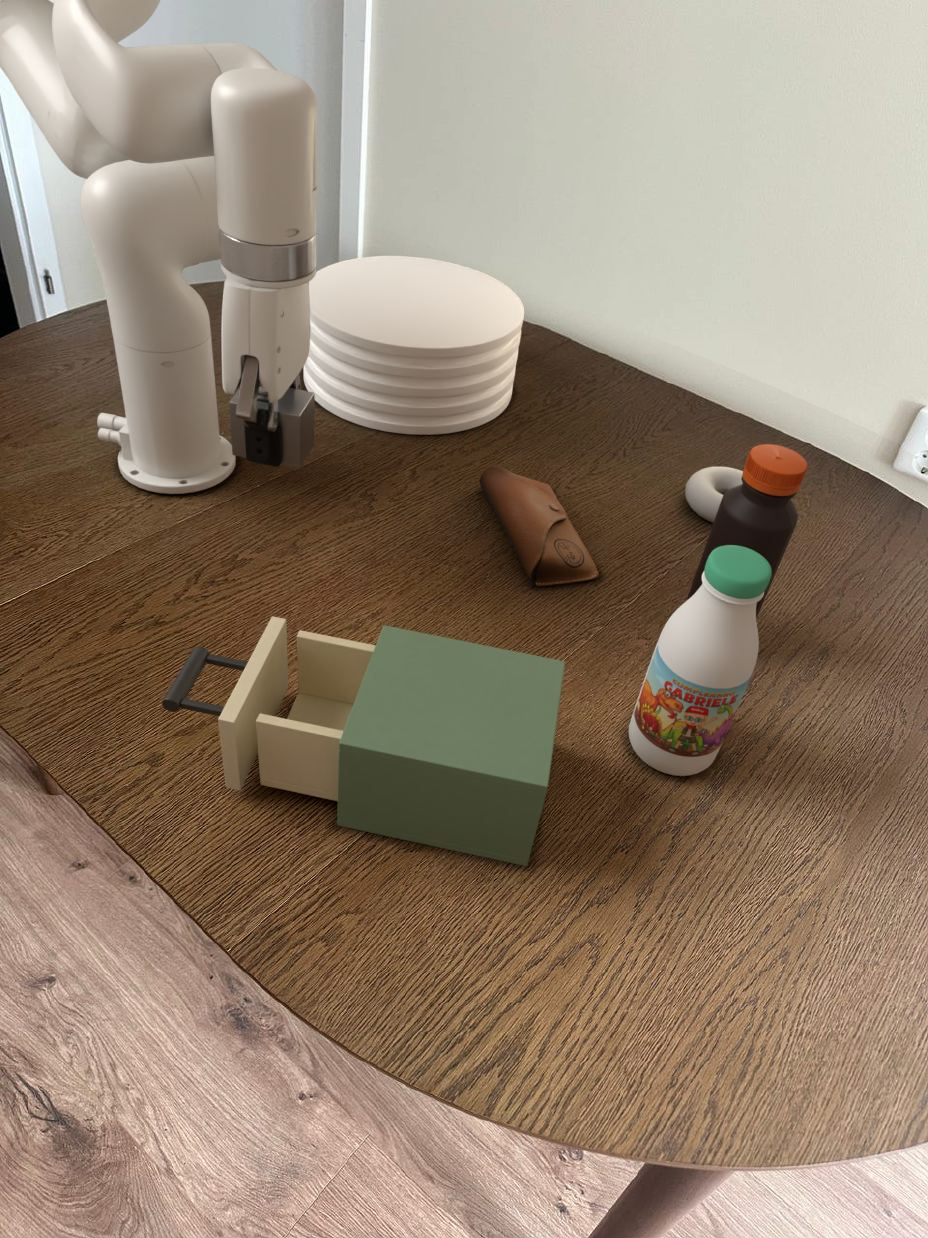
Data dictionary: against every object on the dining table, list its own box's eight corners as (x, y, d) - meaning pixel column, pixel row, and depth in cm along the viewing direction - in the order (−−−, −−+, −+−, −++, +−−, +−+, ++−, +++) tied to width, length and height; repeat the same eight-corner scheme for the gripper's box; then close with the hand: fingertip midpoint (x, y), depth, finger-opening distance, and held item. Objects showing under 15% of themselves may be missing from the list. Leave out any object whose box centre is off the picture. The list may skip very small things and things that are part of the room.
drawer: (153, 772, 70) (140, 703, 64) (211, 670, 78) (203, 602, 73) (398, 825, 68) (404, 758, 63) (429, 715, 77) (437, 649, 72)
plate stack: (393, 317, 137) (398, 240, 130) (550, 383, 126) (565, 303, 119) (258, 377, 119) (254, 291, 111) (427, 460, 108) (436, 371, 101)
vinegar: (665, 616, 91) (723, 443, 78) (720, 604, 94) (785, 433, 80) (703, 662, 87) (771, 486, 74) (760, 647, 89) (836, 474, 76)
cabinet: (337, 825, 69) (338, 743, 62) (378, 707, 78) (383, 624, 72) (526, 867, 68) (548, 787, 61) (545, 741, 77) (565, 661, 71)
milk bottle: (618, 710, 81) (676, 528, 68) (701, 710, 82) (774, 531, 69) (637, 779, 75) (705, 595, 62) (726, 779, 76) (811, 598, 63)
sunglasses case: (606, 575, 94) (586, 534, 90) (546, 608, 95) (523, 569, 90) (545, 480, 107) (525, 439, 102) (493, 509, 108) (471, 470, 103)
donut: (762, 543, 103) (769, 497, 110) (772, 519, 101) (779, 473, 108) (675, 519, 105) (688, 475, 112) (683, 495, 102) (695, 451, 110)
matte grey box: (232, 455, 83) (228, 401, 80) (249, 431, 87) (246, 378, 83) (299, 469, 83) (299, 416, 79) (314, 444, 86) (314, 392, 83)
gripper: (259, 208, 79) (265, 397, 91) (179, 282, 66) (199, 489, 79) (343, 224, 78) (338, 412, 91) (279, 301, 66) (283, 507, 78)
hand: (273, 446), depth 84 cm, fingers closed on matte grey box, 4 cm apart
